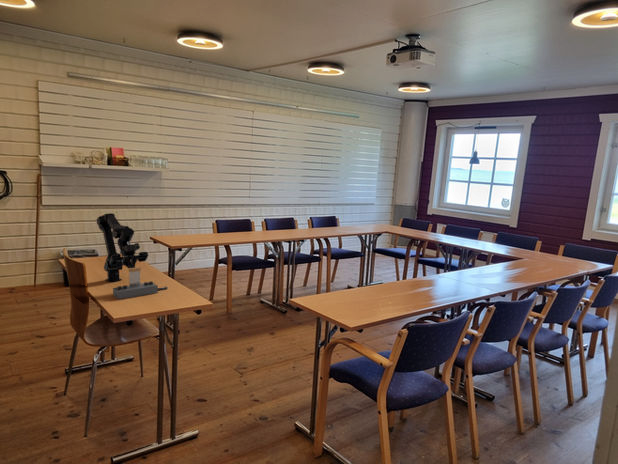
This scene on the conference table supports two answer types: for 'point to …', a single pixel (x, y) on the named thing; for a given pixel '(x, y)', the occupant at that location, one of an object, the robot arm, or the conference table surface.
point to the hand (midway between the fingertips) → (133, 271)
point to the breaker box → (136, 290)
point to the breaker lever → (134, 276)
